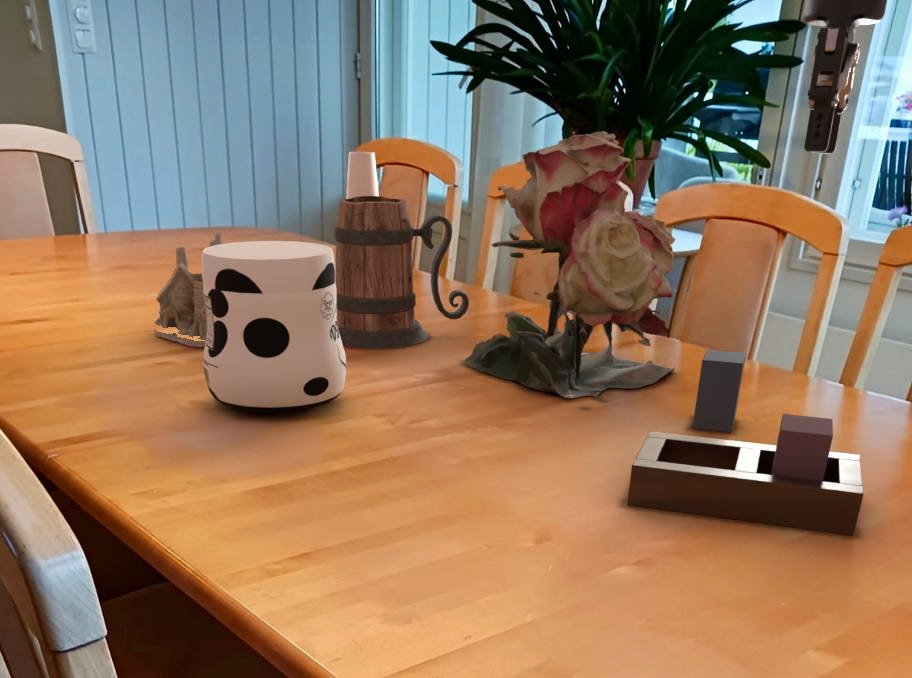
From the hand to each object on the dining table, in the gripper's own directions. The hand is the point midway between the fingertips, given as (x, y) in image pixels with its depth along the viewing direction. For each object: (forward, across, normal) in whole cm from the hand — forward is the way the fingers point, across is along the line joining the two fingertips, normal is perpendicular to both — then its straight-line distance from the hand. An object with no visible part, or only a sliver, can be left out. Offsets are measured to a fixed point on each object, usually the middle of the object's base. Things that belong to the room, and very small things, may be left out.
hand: (819, 152), depth 101 cm
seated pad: (+31, -23, -5) cm, 39 cm away
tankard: (+27, +24, +62) cm, 72 cm away
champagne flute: (+24, +58, +86) cm, 106 cm away
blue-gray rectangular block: (+29, 0, +7) cm, 30 cm away
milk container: (+29, -16, +58) cm, 67 cm away
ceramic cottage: (+27, +9, +88) cm, 93 cm away
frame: (+31, -23, -1) cm, 39 cm away
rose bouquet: (+28, +17, +29) cm, 43 cm away
